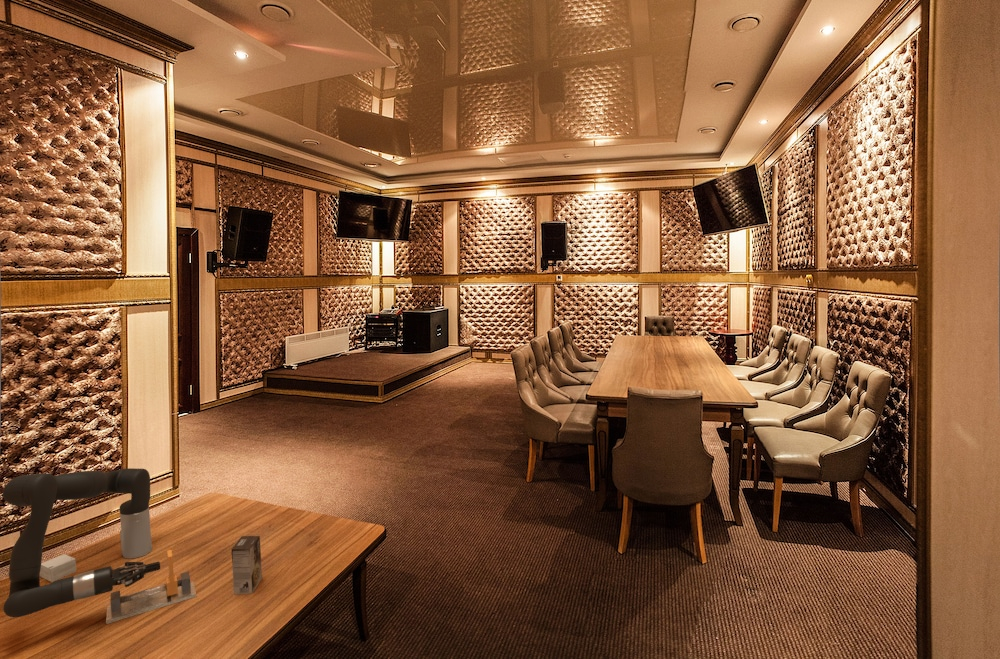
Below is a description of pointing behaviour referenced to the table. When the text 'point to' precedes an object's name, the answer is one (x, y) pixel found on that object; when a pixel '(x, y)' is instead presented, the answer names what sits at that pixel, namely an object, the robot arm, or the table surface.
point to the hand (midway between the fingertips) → (159, 565)
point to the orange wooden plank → (171, 576)
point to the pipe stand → (148, 599)
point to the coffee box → (246, 564)
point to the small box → (58, 567)
